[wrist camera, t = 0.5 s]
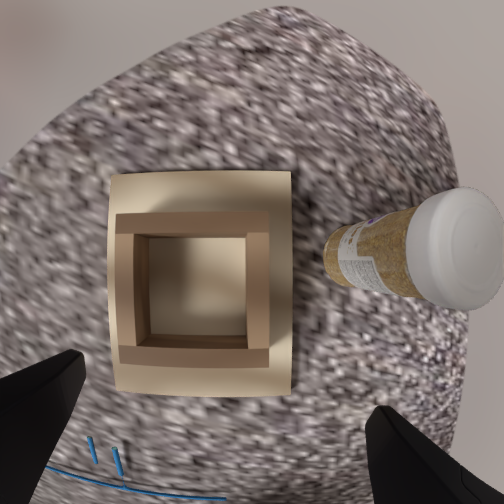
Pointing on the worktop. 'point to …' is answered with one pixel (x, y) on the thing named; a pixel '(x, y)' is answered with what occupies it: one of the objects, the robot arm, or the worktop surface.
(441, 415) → the worktop surface
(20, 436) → the robot arm
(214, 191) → the bottle stand
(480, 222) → the sprinkles bottle
